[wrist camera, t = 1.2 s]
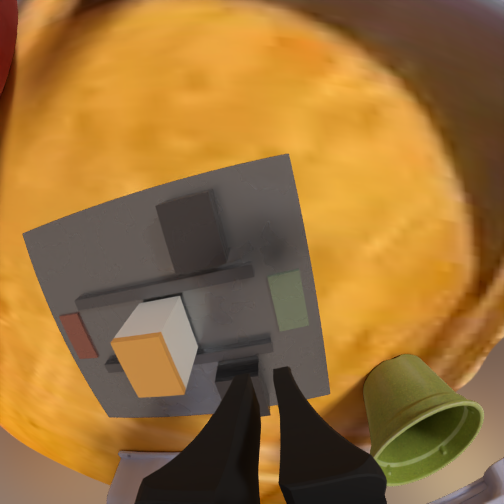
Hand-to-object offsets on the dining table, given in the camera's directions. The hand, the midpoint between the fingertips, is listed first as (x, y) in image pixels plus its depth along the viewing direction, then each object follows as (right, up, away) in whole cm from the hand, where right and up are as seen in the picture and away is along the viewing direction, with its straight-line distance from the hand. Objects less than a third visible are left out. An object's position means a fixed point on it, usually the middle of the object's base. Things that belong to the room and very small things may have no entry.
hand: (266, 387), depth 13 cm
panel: (-6, +1, +9) cm, 11 cm away
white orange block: (-6, +1, +8) cm, 10 cm away
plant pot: (+12, -5, +12) cm, 17 cm away
